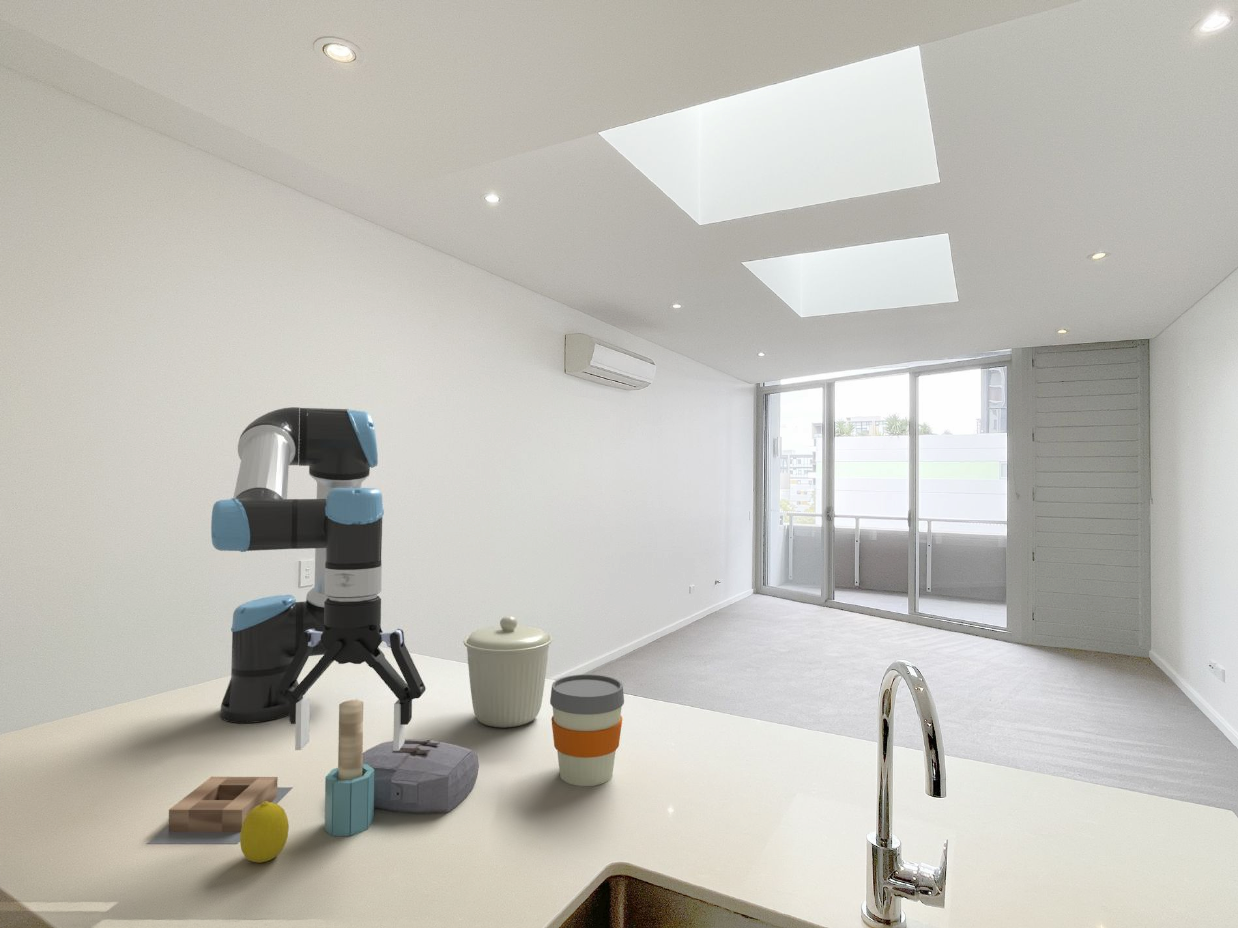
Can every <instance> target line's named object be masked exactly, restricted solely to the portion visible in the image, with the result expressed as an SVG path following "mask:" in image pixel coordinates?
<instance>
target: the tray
mask: <svg viewBox="0 0 1238 928" xmlns="http://www.w3.org/2000/svg"><path fill="white" fill-rule="evenodd" d="M293 788H294V787H289V786H288V787H282V786H281V787H279V786H277V797H276V798H275V799H274V800H273V801H272V802H271V803H275V804H278V803H280V801H281V800H283V798H284V797H286V795H287V794H288V793H289V792H290V791H291V790H292V789H293ZM168 830H169V825H167V826H166V827H165V828H164V829H162V830H161V831H160V832H159V833H157V834H156V835H155V836H153V837H152V839H150V840H149V841H148V842H146V843H145V844H146V845H238V844H239V843H240V834H241V832H168Z"/></svg>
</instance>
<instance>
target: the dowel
mask: <svg viewBox="0 0 1238 928" xmlns="http://www.w3.org/2000/svg"><path fill="white" fill-rule="evenodd" d="M338 705H339V706H338V747H337V748H338V749H337V750H338V751H337V752H338V754H337V755H338V756H337V757H338V758H337V760H338V761H337V763H338V764H337V768H338V780H353V779H356V778H359V777H362V761H363V753H364V751H363V750H364V749H363V748H364V747H363V746H364V740H363V739H364V701H362V700H360V699H350V700H344V701H343V702H340V703H339V704H338Z"/></svg>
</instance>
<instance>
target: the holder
mask: <svg viewBox="0 0 1238 928" xmlns="http://www.w3.org/2000/svg"><path fill="white" fill-rule="evenodd" d="M277 787H278V776H211V777H209V778H208V779H207V780H206V781H204V782H203V783H202V784H200V785H199V786H197V787H196V788H195V789H194V790H192V791H191V792H189V793H188V795H186V796H185V797H183V798H182V799H181V800H179V801H178V802H177V803H176V804H175V805H173V806H171V808H169V809H168V826H169V830H168V832H241V829H242V825H243V822H244V820H245V818H246V816H247V815H248V813H249V812H250V811H251V810H252V809H253V808H255V807H256V806H258V805H260V804H262V803H263V802H264V801H268V802H272V801H273V800H274V799H275V798H276V797H277Z"/></svg>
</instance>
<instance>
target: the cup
mask: <svg viewBox="0 0 1238 928" xmlns="http://www.w3.org/2000/svg"><path fill="white" fill-rule="evenodd" d="M324 778H325V782H324V783H325V785H324V787H325V788H324V791H325V792H324V793H325V795H324V830H325V831H326V832H327V833H328V834H329V835H330V836H333V837H351V836H353V835H354V836H355V835H357V834H359V833H362V832H364V831H366V830H368V829H369V828H370V826H371V825H372V823H373V822H374V820H375V818H374V817H375V813H374V811H375V808H374V769H373V768H372V767H370V766H369V765H367V764H362V777H359V778H356V779H353V780H338V767H336V768H332V769H331V770H330V771H329V772H328V774H327V775H325V777H324Z"/></svg>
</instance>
